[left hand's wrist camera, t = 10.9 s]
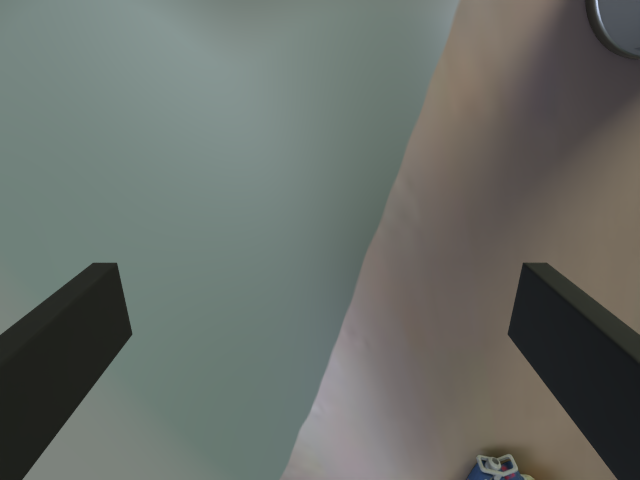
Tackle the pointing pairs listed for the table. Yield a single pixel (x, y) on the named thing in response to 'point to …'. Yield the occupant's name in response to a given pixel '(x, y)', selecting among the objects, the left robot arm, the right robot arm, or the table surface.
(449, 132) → the table surface
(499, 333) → the table surface
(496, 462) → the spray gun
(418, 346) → the table surface
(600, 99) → the table surface
